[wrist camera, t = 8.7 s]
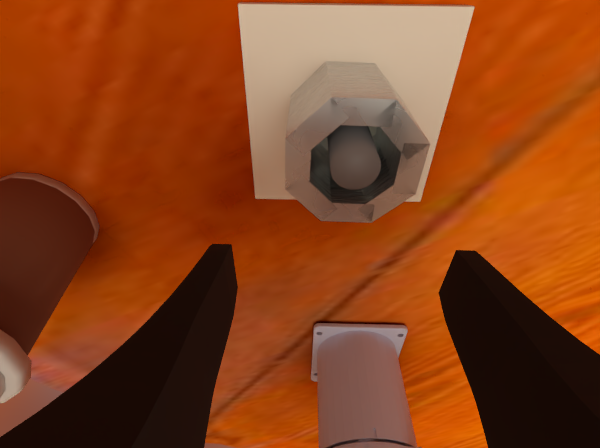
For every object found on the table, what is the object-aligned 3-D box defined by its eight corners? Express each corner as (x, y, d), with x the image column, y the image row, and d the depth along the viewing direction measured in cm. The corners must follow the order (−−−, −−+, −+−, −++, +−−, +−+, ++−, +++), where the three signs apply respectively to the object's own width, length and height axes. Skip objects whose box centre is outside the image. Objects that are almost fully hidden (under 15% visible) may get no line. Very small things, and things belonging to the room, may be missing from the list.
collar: (387, 168, 19) (406, 224, 15) (289, 165, 19) (285, 219, 15) (409, 64, 16) (442, 101, 12) (291, 59, 16) (285, 95, 12)
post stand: (417, 196, 21) (446, 260, 17) (256, 193, 21) (242, 256, 17) (469, 5, 15) (536, 27, 10) (240, 2, 15) (211, 23, 11)
